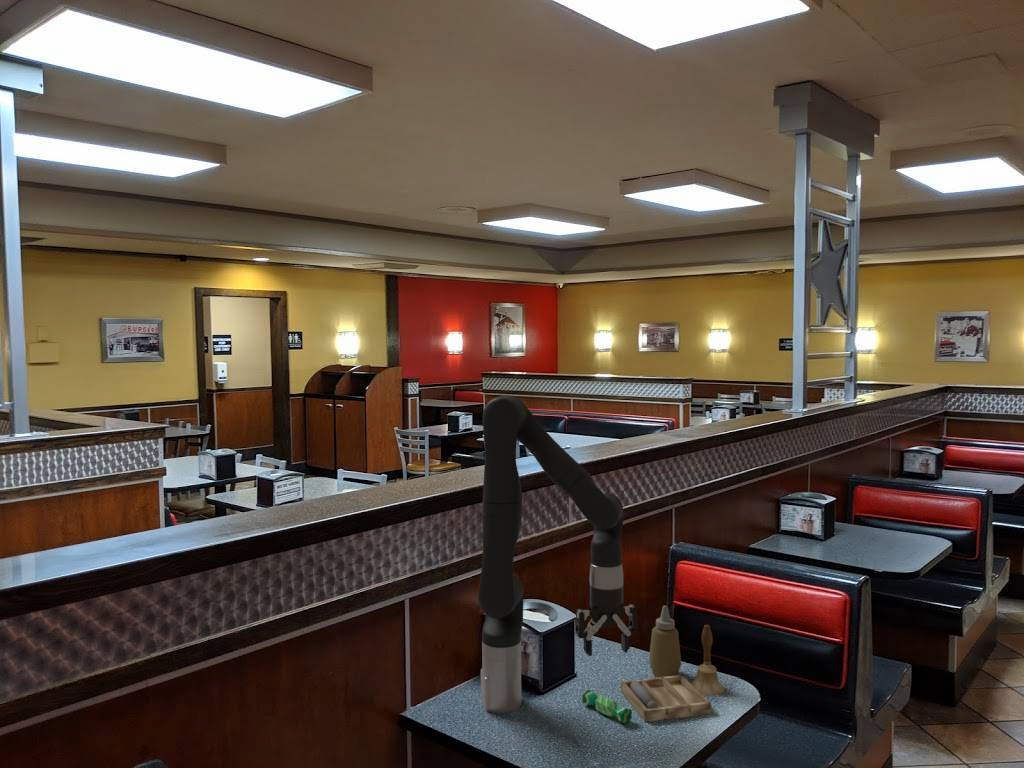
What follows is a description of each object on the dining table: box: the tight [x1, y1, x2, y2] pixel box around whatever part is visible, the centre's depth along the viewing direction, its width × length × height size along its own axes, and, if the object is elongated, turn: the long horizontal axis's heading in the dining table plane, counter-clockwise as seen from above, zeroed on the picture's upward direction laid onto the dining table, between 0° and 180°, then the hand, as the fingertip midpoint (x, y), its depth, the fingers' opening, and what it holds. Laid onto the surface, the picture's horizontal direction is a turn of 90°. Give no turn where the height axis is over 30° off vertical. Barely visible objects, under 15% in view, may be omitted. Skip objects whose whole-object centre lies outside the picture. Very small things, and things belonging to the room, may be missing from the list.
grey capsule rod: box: [631, 681, 658, 709], centre depth 174 cm, size 2×12×2 cm, turn 13°
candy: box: [582, 689, 633, 725], centre depth 170 cm, size 12×3×4 cm, turn 40°
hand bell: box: [690, 624, 725, 696], centre depth 182 cm, size 8×8×16 cm
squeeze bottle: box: [648, 605, 682, 678], centre depth 189 cm, size 8×8×18 cm
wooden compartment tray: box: [620, 674, 712, 723], centre depth 175 cm, size 16×15×2 cm
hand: (606, 652), depth 170 cm, fingers open, 8 cm apart
